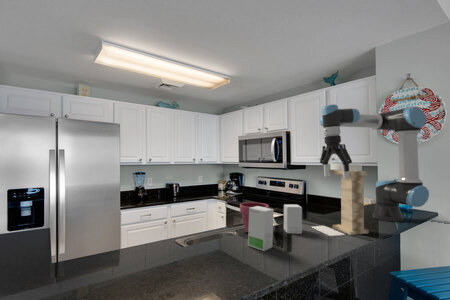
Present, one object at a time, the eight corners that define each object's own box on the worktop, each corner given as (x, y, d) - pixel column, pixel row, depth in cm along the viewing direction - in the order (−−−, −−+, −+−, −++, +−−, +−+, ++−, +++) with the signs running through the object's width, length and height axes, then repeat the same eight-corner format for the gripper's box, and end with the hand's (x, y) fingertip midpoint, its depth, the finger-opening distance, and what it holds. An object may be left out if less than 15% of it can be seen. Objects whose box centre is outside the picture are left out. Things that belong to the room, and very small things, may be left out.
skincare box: (247, 246, 98) (247, 207, 98) (256, 242, 103) (257, 205, 103) (264, 251, 92) (264, 210, 93) (273, 247, 97) (274, 208, 98)
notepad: (323, 226, 128) (323, 225, 128) (345, 235, 113) (345, 234, 113) (310, 227, 125) (310, 226, 125) (331, 236, 111) (331, 235, 111)
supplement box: (302, 233, 115) (302, 207, 115) (286, 233, 115) (286, 207, 115) (298, 229, 122) (298, 204, 123) (283, 229, 122) (283, 204, 123)
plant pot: (265, 226, 126) (265, 202, 127) (271, 235, 112) (271, 207, 113) (238, 226, 126) (238, 201, 127) (240, 234, 112) (241, 207, 113)
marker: (331, 169, 137) (331, 163, 137) (361, 171, 116) (361, 164, 117) (326, 169, 136) (326, 163, 136) (356, 171, 116) (356, 164, 116)
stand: (349, 226, 128) (349, 170, 129) (368, 233, 116) (368, 171, 117) (332, 227, 125) (332, 170, 126) (350, 235, 113) (349, 171, 114)
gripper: (311, 138, 133) (314, 176, 132) (344, 133, 109) (348, 179, 108) (322, 137, 135) (326, 175, 134) (357, 132, 111) (362, 178, 110)
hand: (336, 177), depth 121 cm, fingers open, 13 cm apart
